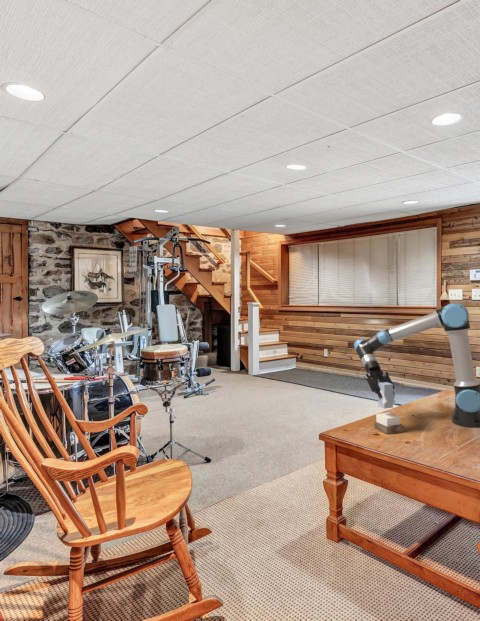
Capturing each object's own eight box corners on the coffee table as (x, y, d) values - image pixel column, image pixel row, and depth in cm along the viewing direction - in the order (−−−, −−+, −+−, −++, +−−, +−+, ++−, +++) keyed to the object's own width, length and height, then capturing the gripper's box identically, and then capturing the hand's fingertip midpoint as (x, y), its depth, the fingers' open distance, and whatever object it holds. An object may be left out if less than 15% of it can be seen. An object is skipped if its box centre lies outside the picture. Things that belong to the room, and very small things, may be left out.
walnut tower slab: (390, 426, 217) (390, 419, 217) (403, 432, 208) (403, 425, 207) (374, 428, 214) (374, 421, 214) (386, 435, 205) (386, 427, 204)
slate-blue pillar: (386, 405, 214) (386, 382, 214) (392, 407, 209) (392, 384, 209) (378, 405, 213) (378, 382, 212) (384, 408, 208) (384, 385, 207)
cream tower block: (388, 419, 216) (388, 412, 216) (399, 424, 208) (399, 416, 208) (376, 421, 213) (376, 414, 213) (387, 426, 205) (387, 418, 205)
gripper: (382, 367, 228) (401, 404, 213) (353, 369, 222) (371, 407, 207) (388, 359, 222) (409, 396, 207) (358, 361, 217) (378, 400, 202)
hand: (390, 402), depth 207 cm, fingers closed on slate-blue pillar, 5 cm apart
